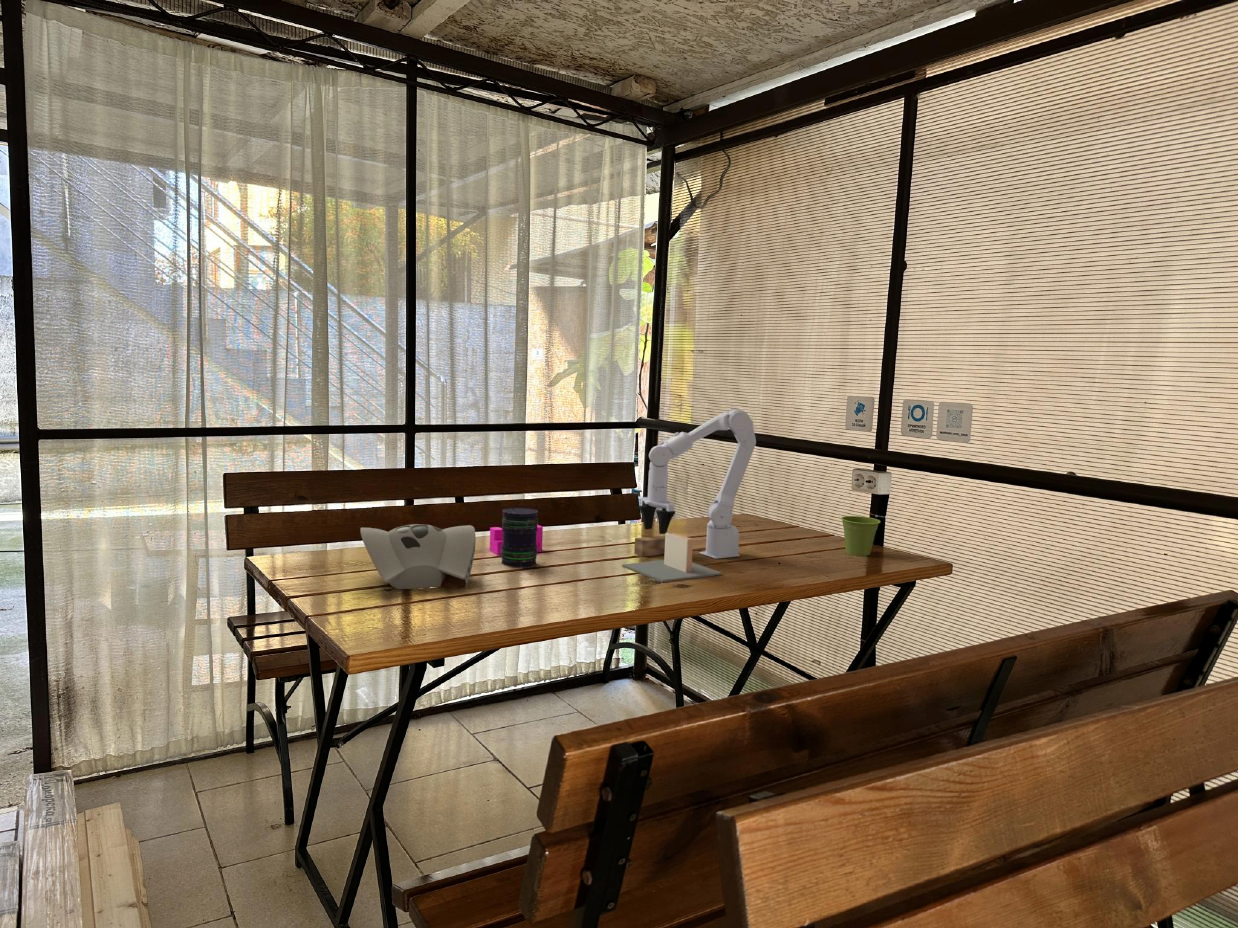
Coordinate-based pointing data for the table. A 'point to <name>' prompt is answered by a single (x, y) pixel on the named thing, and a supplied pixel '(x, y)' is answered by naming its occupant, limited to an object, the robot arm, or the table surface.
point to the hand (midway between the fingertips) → (655, 531)
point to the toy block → (497, 539)
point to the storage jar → (519, 537)
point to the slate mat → (669, 571)
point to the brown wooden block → (650, 546)
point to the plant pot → (859, 534)
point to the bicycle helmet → (422, 555)
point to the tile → (678, 552)
